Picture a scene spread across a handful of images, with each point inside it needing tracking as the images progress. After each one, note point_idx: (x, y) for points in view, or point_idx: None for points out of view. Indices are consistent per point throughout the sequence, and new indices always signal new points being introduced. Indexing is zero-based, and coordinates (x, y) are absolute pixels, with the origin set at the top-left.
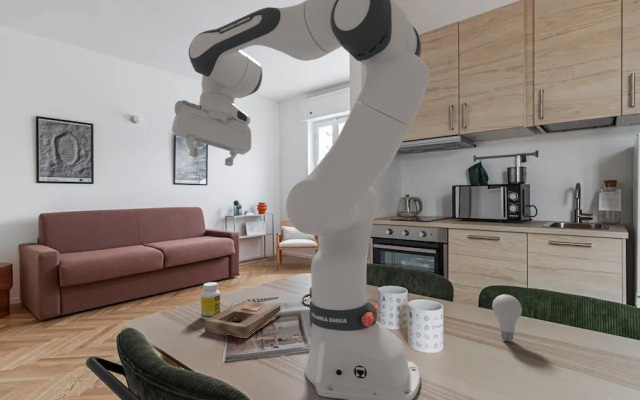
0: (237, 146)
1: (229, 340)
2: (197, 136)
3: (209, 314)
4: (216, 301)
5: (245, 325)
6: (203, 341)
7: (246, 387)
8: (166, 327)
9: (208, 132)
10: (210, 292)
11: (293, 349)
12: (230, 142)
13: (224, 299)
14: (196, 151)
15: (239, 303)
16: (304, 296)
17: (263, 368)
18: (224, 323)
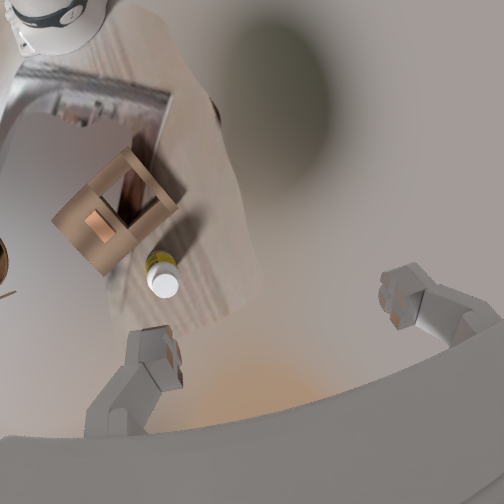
0: (86, 448)
1: (149, 154)
2: (476, 334)
3: (164, 252)
4: (154, 261)
5: (125, 154)
6: (183, 169)
7: (166, 32)
8: (225, 248)
9: (446, 414)
10: (165, 269)
11: (82, 86)
12: (165, 460)
13: None
14: (403, 279)
15: (113, 264)
16: (2, 279)
17: (135, 57)
18: (152, 178)
